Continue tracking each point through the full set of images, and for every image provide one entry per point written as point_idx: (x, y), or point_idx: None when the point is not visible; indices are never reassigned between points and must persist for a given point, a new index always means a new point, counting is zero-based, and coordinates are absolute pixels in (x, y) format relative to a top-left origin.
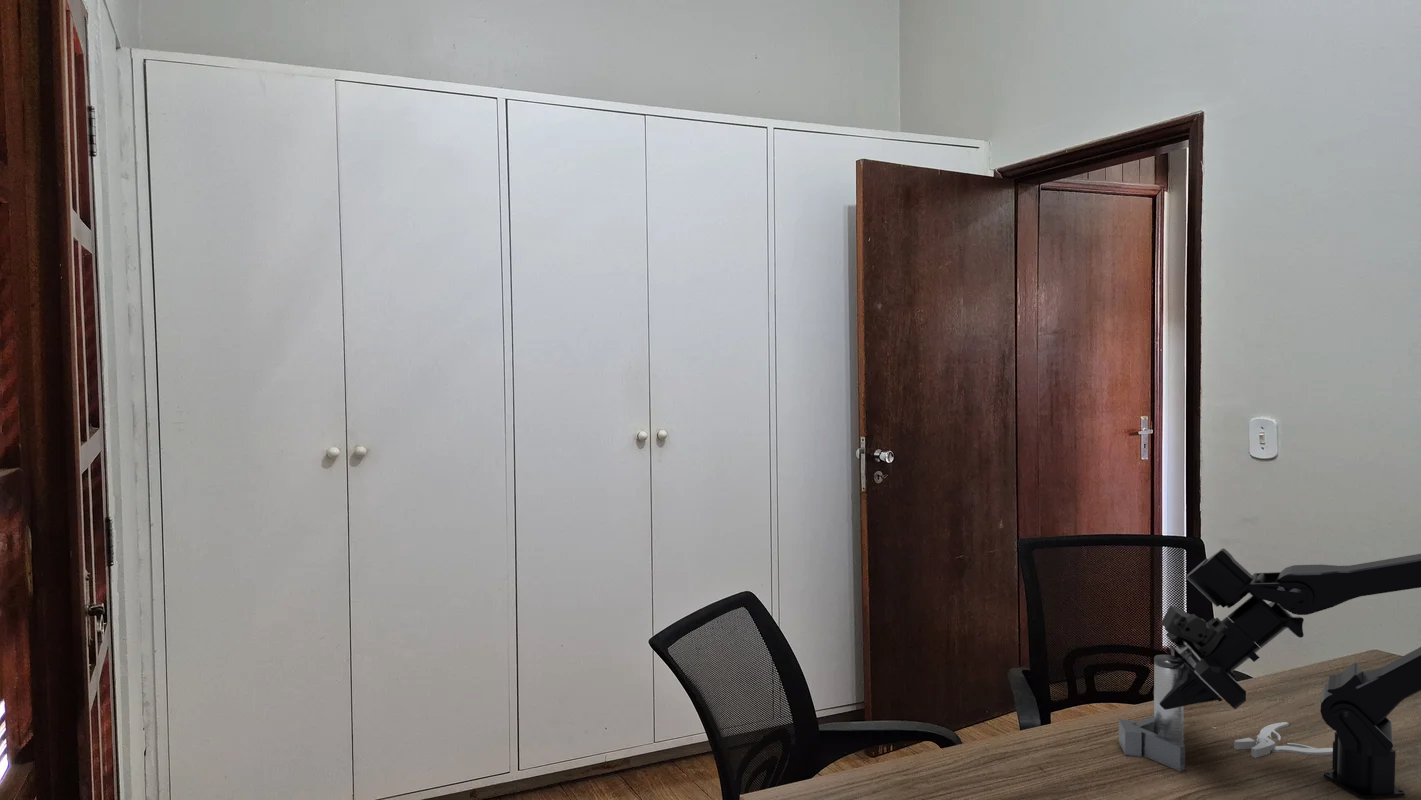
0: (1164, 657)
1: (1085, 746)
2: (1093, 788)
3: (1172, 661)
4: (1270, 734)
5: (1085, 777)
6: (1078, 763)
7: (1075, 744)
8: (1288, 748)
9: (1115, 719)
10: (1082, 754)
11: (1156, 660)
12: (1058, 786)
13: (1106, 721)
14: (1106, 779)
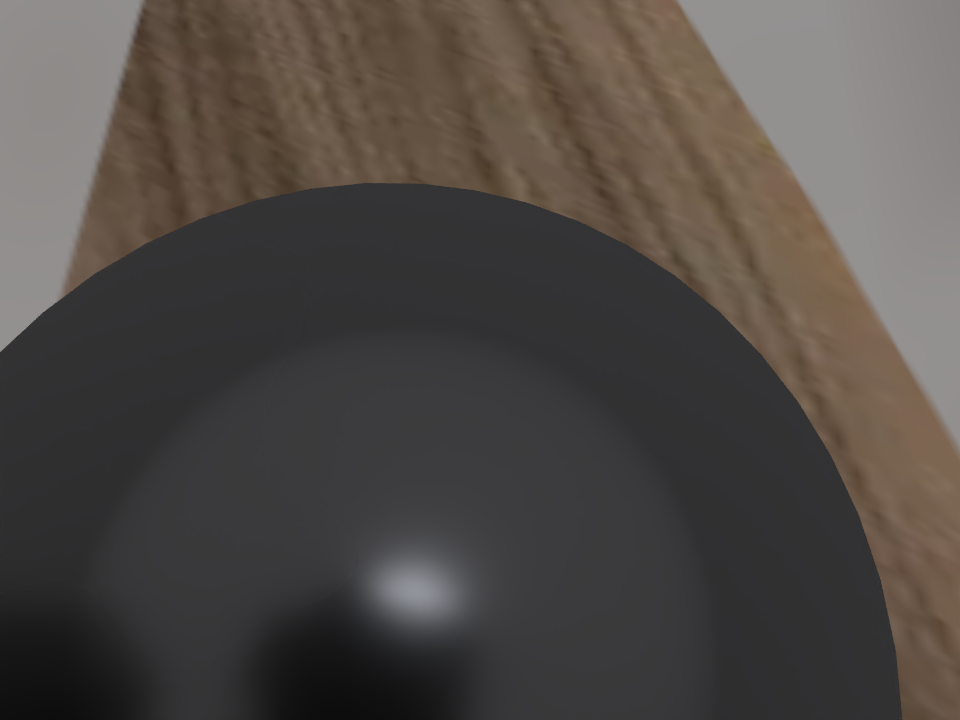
0: (571, 550)
1: (538, 201)
2: (126, 58)
3: (101, 612)
4: None
5: (227, 70)
6: (361, 98)
7: (561, 167)
8: None
9: (919, 531)
10: (451, 151)
11: (389, 199)
12: None
13: (878, 458)
14: (192, 142)
